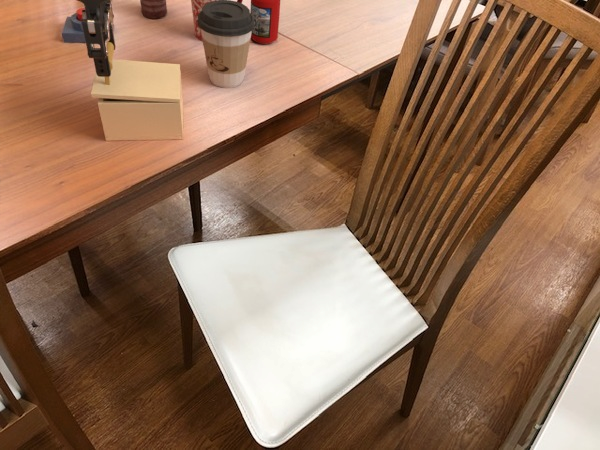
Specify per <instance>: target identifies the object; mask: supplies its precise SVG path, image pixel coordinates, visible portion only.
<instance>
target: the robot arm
mask: <svg viewBox="0 0 600 450" xmlns="http://www.w3.org/2000/svg"><path fill="white" fill-rule="evenodd" d="M76 1H78V2H80V3H82V4H83V8H85V9H82V17H83V19H82V22H81V23H82V26H83V31H84V36H85V41H86V43H85V44H86V51H87V56H88V58H89V59H93V63H94V69H95V71H96V74H97V76H99V77H109V76H110V75H111V69H110V63H109V58H108V49H107V42H111V43H112V44H113V45H114V51H115V50H116V42H115V36H114V35H115V34H114V30H113V29H111V28H113V26H114V27H115V24H113V23H114V18H115V15H114V13H113V12H114V11H113V6H112V0H76ZM95 45H99V47H95Z"/></svg>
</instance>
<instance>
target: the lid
mask: <svg viewBox="0 0 600 450" xmlns="http://www.w3.org/2000/svg"><path fill="white" fill-rule="evenodd" d="M107 49H108V58H109V63H110V69H111V75H110V76H109V77H99V76H97V74H96V70H95V71H94V75H93V79H92V80H93V81H92V84H91V85H92V86H91V91H90V97H91V98H92V99H94V98H95V99H99V98H108V99H125V100H141V101H158V102H175V103H180V73H181V64H179V63H170V62H169V63H167V62H154V61H142V60H141V61H140V60H127V59H117V58H116V59H115V58H113V57H114V51H115V50H114V45H113V44H112V43H111V42H107Z"/></svg>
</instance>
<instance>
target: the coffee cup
mask: <svg viewBox="0 0 600 450" xmlns="http://www.w3.org/2000/svg"><path fill="white" fill-rule="evenodd" d="M250 11H251V9H249V7H248V6H247V5H246V4H243V2H242V3H239V2H237V0H236V1H235V0H216V1H212V2H209V3H207V4H205V5H204V6H203V7H202V11H201V12H200V13H199V14H198V20H197V24H198V26H199V27H200V28H201V34H202V40H203V41H202V40H201V41H202V45H203V52H204V57H205V61H206V68H207V73H208V77H209V80H210V82H211V84H213V85H214V86H217V87H219V88H223V89H231V88H236V87H238V86H240V85H241V84H242V83H243V82H244V79H245V76H246V71H247V70H246V69H247V63H248V57H249V51H250V43H251V39H252V38H251V32H252V30H253V29H254V27H255V22H254V17H253V16H252V14H251V13H250Z"/></svg>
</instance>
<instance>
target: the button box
mask: <svg viewBox="0 0 600 450" xmlns="http://www.w3.org/2000/svg"><path fill="white" fill-rule="evenodd" d="M81 22H82V21H79V20H78V17H77V13H76V12H74V13H73V14H71V16H66V19H65V21H64V25H63V28H62V30H61V36H62V40H63V43H69V44H70V43H72V44H73V43H75V44H76V43H78V44H86V41H85V36H84V31H83V26H82V23H81ZM113 24H114V22H113ZM111 29H113V31H114V29H115V24H114V26H113V28H111Z"/></svg>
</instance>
